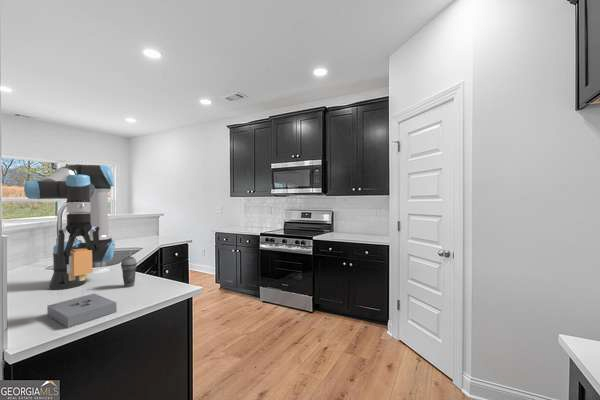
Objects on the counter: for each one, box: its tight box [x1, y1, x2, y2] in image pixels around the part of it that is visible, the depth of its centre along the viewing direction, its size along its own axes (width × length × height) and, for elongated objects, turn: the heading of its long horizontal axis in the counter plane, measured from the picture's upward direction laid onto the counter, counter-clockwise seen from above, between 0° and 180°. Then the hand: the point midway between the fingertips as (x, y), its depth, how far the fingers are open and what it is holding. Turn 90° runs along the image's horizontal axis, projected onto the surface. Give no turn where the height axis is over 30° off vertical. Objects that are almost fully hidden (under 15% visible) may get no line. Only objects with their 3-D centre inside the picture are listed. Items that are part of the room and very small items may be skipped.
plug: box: [67, 248, 93, 281], centre depth 111 cm, size 7×6×12 cm
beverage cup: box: [120, 247, 138, 288], centre depth 145 cm, size 7×7×20 cm
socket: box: [46, 293, 118, 329], centre depth 111 cm, size 20×16×4 cm
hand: (79, 270), depth 111 cm, fingers closed on plug, 6 cm apart
